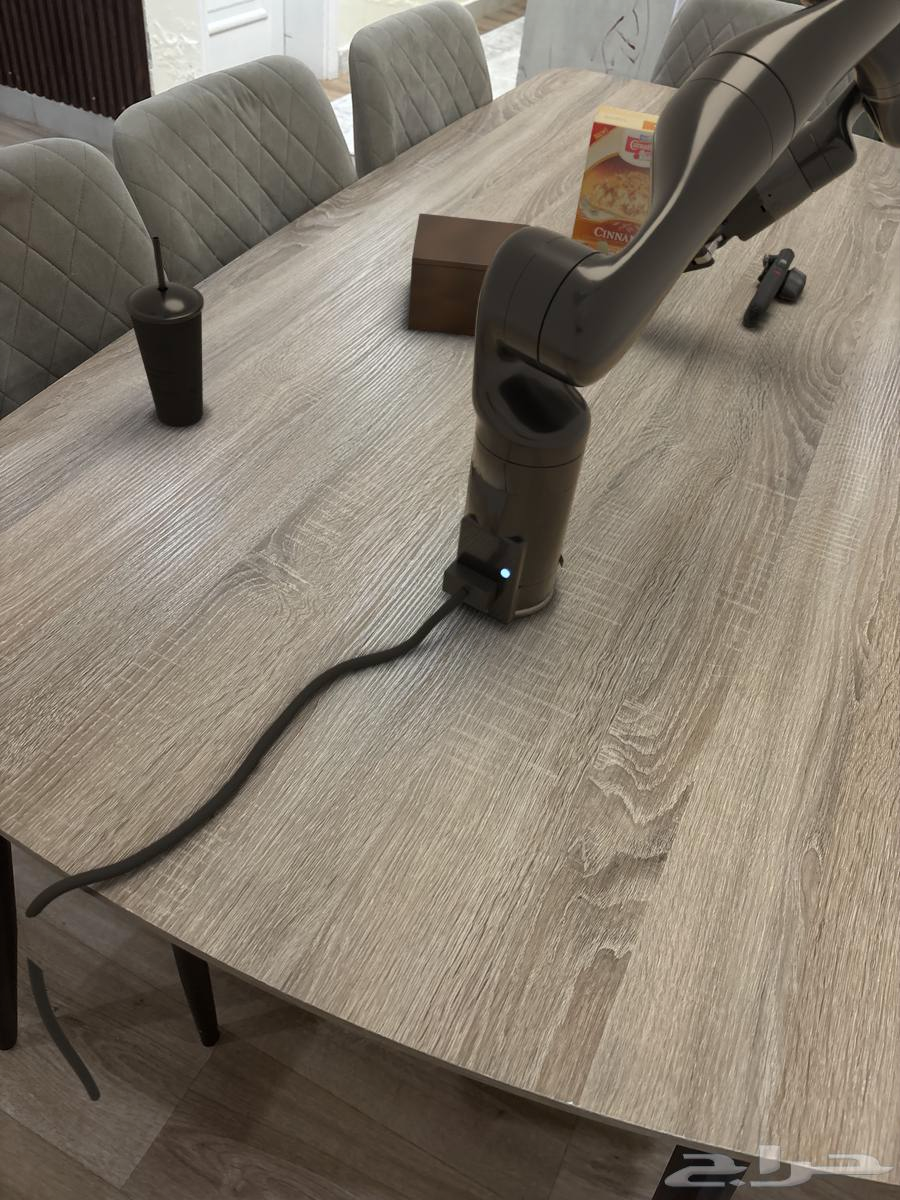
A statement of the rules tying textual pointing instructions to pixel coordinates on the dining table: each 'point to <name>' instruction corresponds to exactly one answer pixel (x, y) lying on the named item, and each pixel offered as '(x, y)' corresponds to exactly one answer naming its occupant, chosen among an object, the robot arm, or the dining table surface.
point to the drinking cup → (170, 344)
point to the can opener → (775, 284)
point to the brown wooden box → (451, 270)
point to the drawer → (601, 247)
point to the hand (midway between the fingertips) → (638, 277)
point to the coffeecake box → (615, 179)
